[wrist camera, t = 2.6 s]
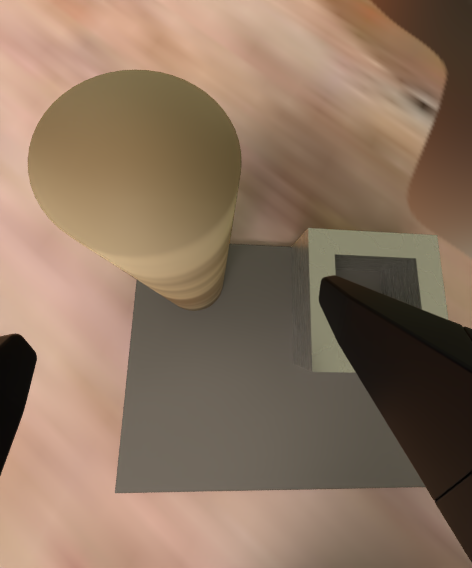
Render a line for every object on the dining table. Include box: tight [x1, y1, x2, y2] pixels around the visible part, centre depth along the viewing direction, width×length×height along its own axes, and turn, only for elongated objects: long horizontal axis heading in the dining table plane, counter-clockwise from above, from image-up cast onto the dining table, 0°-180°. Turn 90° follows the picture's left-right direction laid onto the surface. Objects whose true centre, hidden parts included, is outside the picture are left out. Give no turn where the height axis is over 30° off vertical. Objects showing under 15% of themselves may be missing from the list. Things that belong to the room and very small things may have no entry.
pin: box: [28, 70, 241, 311], centre depth 11 cm, size 4×4×13 cm
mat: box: [115, 244, 425, 493], centre depth 17 cm, size 16×20×1 cm
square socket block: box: [291, 228, 448, 373], centre depth 16 cm, size 8×8×4 cm
